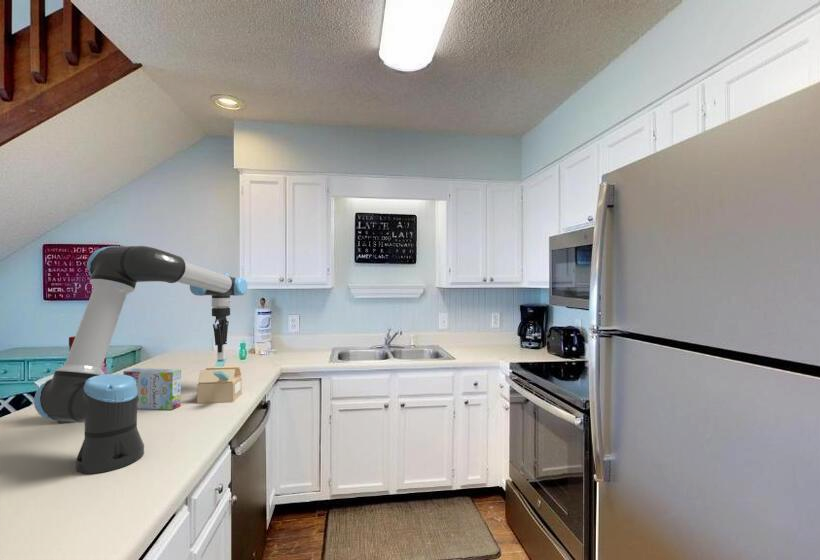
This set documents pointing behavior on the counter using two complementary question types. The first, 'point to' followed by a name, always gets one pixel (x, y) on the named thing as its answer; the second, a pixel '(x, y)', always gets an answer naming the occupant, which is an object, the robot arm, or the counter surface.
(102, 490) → the counter surface
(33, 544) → the counter surface
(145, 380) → the snack box
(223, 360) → the flap far
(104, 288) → the robot arm
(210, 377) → the flap near
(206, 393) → the carton
